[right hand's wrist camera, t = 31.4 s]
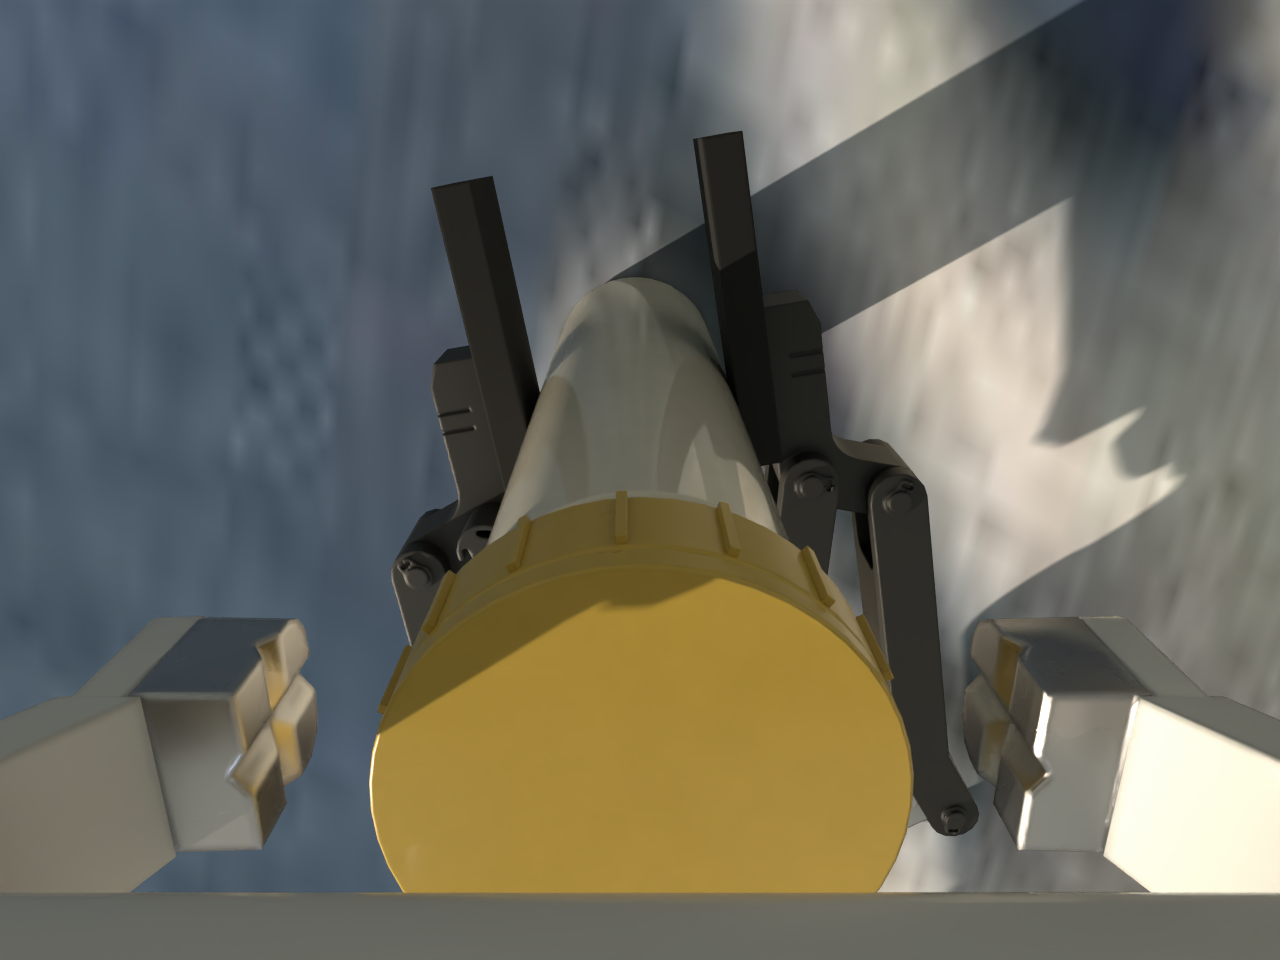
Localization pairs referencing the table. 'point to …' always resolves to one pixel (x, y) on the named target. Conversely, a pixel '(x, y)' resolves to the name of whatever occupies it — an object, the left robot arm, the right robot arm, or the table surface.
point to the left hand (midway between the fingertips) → (589, 161)
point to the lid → (641, 717)
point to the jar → (636, 414)
